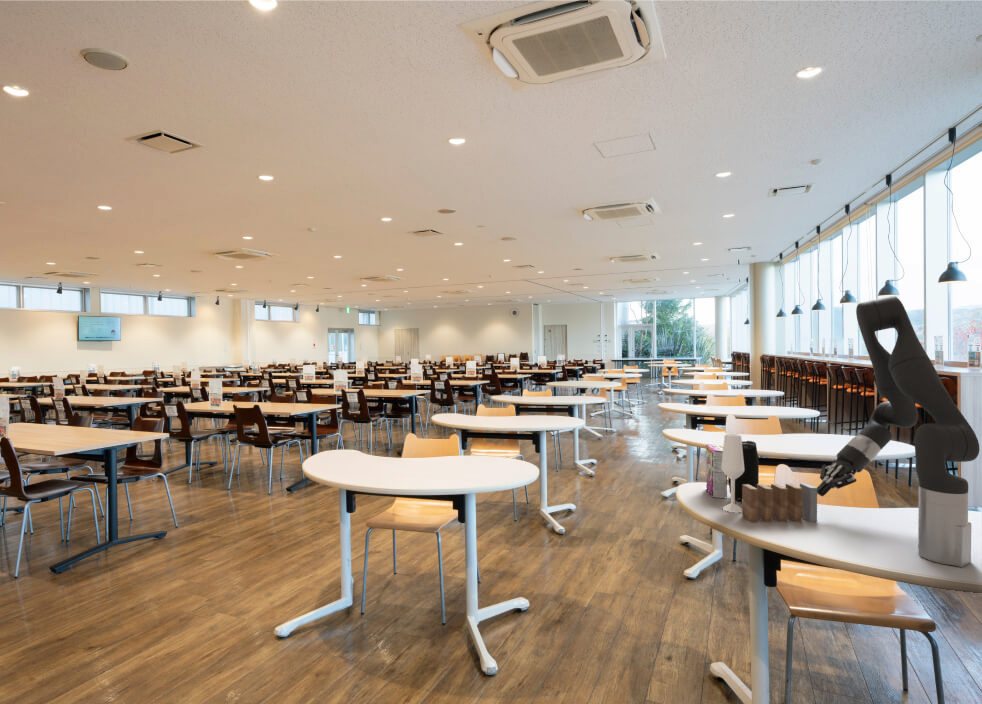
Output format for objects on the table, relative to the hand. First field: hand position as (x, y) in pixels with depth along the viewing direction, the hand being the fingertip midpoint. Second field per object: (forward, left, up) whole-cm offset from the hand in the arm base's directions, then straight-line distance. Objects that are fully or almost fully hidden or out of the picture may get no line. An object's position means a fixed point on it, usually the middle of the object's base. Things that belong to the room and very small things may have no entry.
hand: (818, 493), depth 158 cm
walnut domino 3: (+6, +11, -7) cm, 14 cm away
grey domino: (+2, +3, -7) cm, 8 cm away
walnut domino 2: (+8, +14, -7) cm, 18 cm away
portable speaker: (+24, +1, -8) cm, 25 cm away
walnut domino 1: (+11, +18, -7) cm, 22 cm away
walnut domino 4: (+4, +7, -7) cm, 11 cm away
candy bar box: (+33, +3, -8) cm, 34 cm away
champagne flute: (+19, +14, -8) cm, 25 cm away
